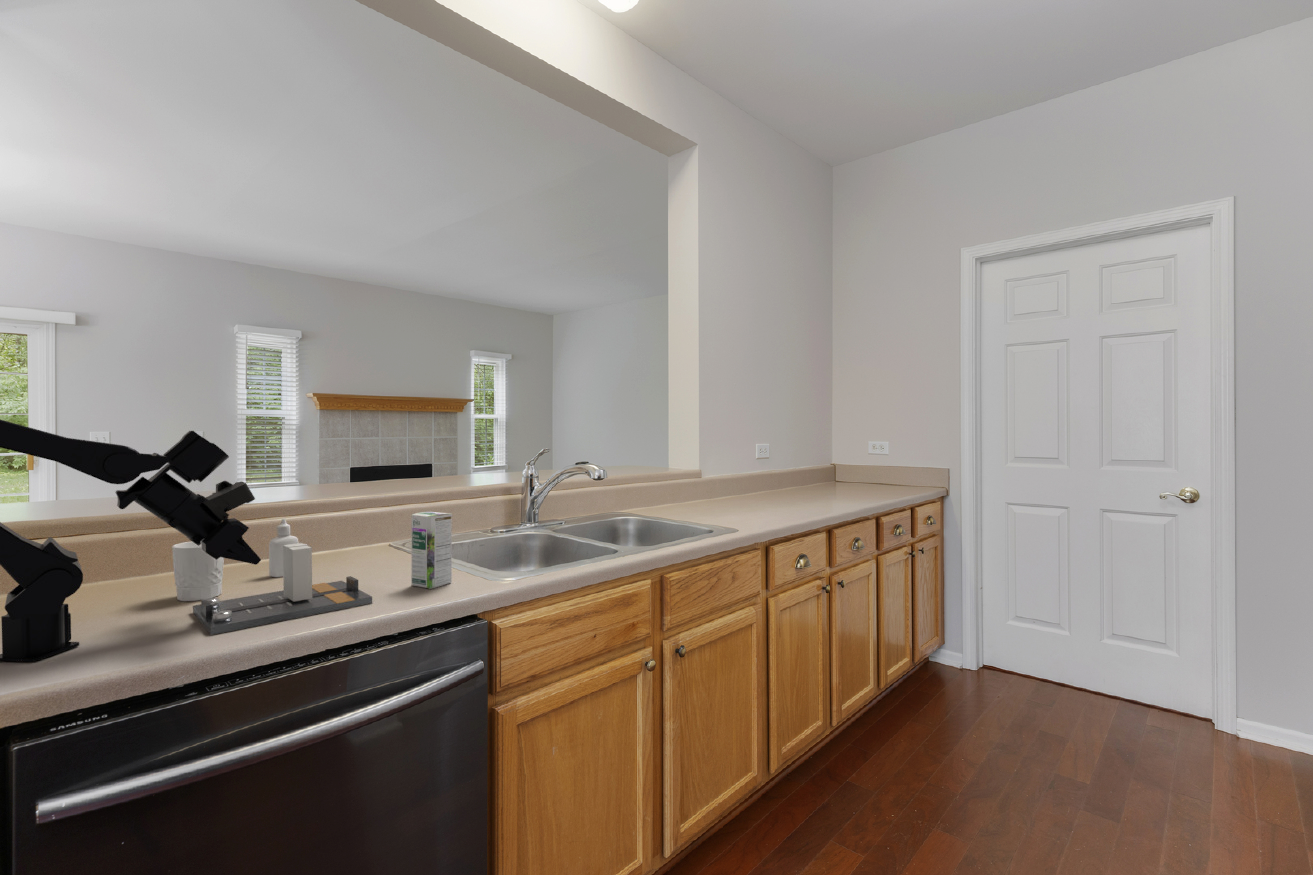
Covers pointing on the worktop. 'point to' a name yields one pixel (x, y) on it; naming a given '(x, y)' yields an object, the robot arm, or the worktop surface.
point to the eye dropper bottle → (279, 548)
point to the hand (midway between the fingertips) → (258, 561)
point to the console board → (277, 606)
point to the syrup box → (431, 549)
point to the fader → (297, 571)
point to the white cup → (196, 572)
